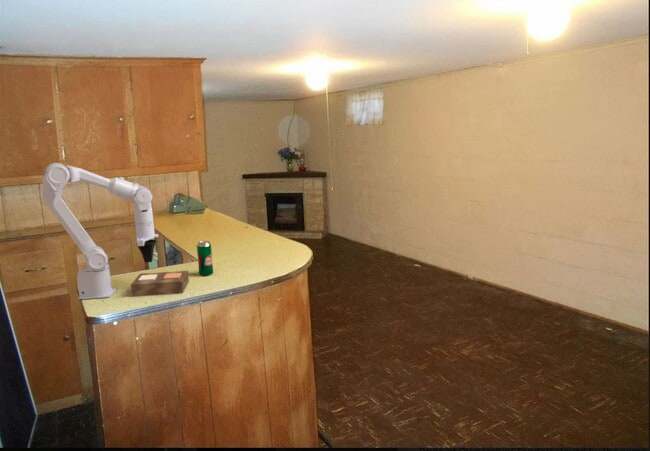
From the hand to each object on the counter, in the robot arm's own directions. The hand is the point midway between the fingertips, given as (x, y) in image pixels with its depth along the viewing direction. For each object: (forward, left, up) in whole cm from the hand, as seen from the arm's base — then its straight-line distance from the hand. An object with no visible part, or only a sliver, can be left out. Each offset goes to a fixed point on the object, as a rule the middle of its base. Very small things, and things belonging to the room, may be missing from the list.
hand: (148, 261), depth 169 cm
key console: (+4, -4, -8) cm, 10 cm away
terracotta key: (+8, -5, -7) cm, 11 cm away
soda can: (+17, +10, -9) cm, 22 cm away
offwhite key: (0, -4, -6) cm, 8 cm away
